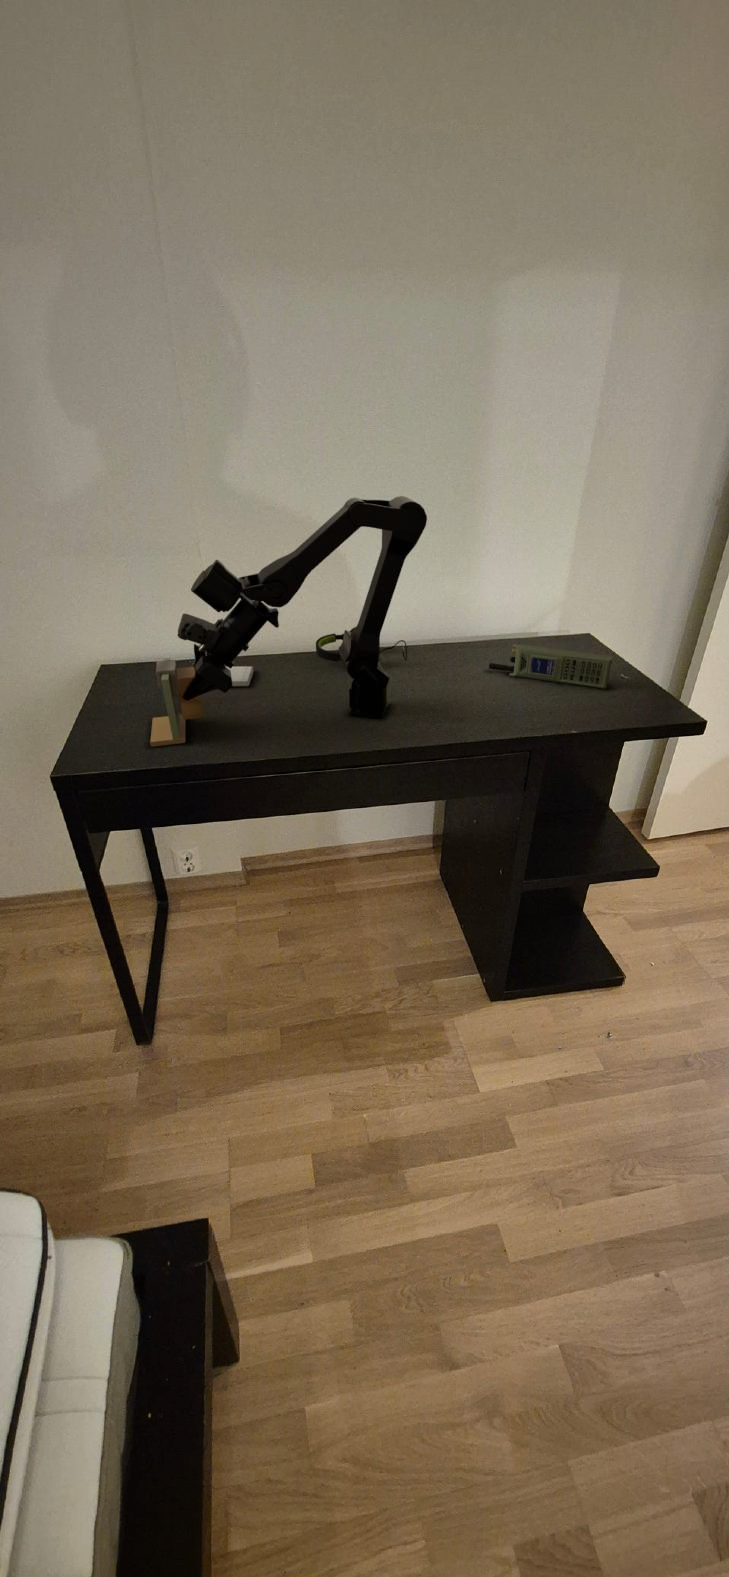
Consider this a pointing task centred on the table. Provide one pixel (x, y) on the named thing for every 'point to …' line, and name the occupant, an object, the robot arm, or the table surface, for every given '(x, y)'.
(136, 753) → the table surface
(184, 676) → the lidded tan box
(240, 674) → the hard drive
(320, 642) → the headphones
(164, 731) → the door panel
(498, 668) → the handheld radio
